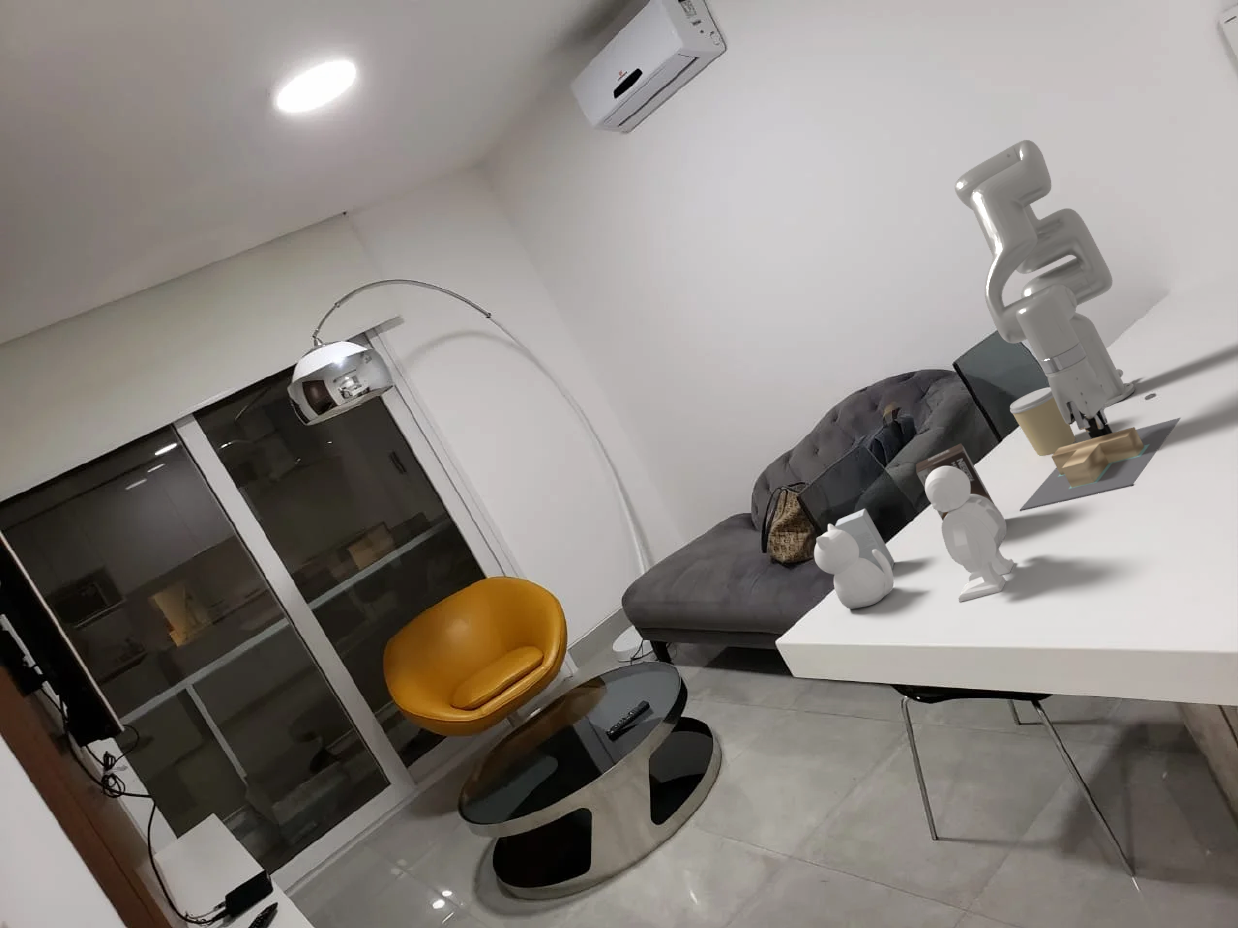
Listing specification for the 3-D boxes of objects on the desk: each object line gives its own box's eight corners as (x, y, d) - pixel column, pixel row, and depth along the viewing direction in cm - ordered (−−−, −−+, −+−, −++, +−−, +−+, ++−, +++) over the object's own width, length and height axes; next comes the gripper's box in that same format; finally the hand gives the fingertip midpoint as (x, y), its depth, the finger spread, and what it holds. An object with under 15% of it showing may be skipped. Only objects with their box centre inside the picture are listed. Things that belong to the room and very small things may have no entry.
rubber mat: (1075, 447, 178) (1074, 446, 178) (1181, 419, 162) (1180, 417, 162) (1020, 510, 161) (1019, 509, 161) (1133, 485, 145) (1132, 484, 145)
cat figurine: (850, 596, 165) (813, 526, 164) (911, 579, 157) (872, 506, 156) (834, 620, 158) (795, 547, 157) (897, 603, 150) (856, 526, 149)
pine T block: (1068, 466, 169) (1059, 447, 168) (1144, 446, 158) (1134, 427, 157) (1045, 493, 161) (1035, 474, 161) (1123, 475, 150) (1112, 454, 150)
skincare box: (895, 561, 170) (866, 507, 169) (892, 570, 166) (863, 514, 165) (866, 572, 173) (837, 519, 172) (863, 581, 169) (833, 526, 168)
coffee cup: (1069, 435, 187) (1043, 385, 187) (1088, 439, 178) (1061, 387, 177) (1027, 456, 189) (1002, 406, 188) (1044, 461, 180) (1017, 409, 179)
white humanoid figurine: (977, 567, 147) (922, 461, 145) (1031, 553, 141) (973, 443, 139) (956, 607, 136) (896, 494, 135) (1012, 594, 130) (951, 476, 129)
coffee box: (1003, 518, 162) (962, 441, 160) (1006, 529, 156) (964, 449, 154) (954, 538, 165) (914, 463, 164) (956, 550, 159) (915, 471, 158)
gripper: (1058, 353, 170) (1100, 436, 172) (1028, 381, 161) (1073, 469, 163) (1096, 338, 165) (1140, 425, 166) (1068, 367, 155) (1114, 458, 157)
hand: (1107, 446), depth 164 cm, fingers closed
